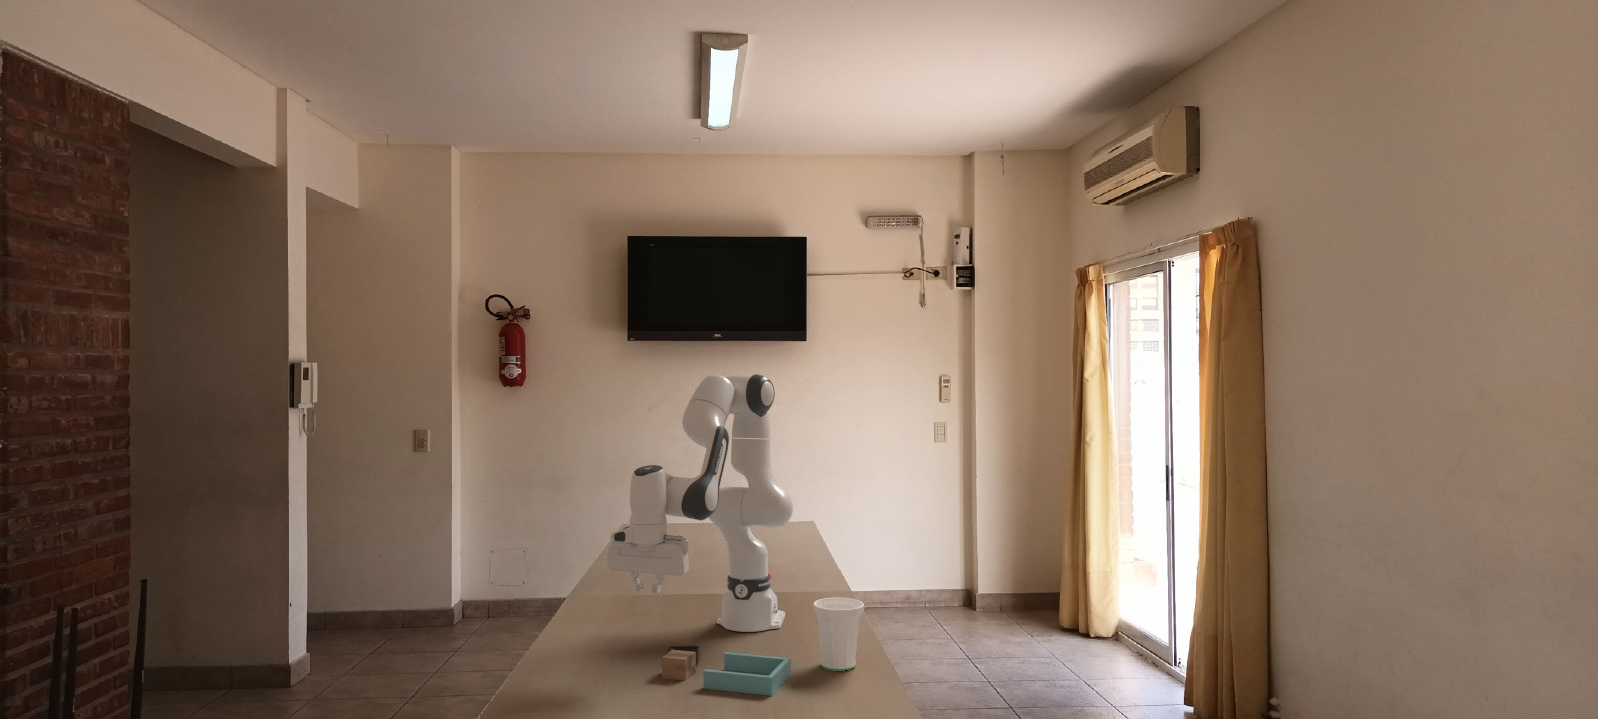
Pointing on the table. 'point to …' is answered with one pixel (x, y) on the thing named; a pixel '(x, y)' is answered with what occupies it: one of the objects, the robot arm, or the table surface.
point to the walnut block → (678, 665)
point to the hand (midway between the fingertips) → (647, 591)
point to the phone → (687, 648)
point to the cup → (838, 631)
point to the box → (749, 682)
